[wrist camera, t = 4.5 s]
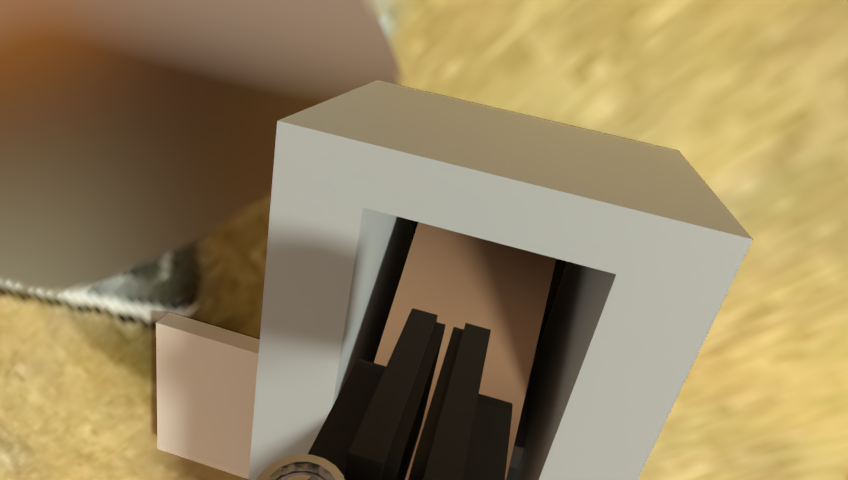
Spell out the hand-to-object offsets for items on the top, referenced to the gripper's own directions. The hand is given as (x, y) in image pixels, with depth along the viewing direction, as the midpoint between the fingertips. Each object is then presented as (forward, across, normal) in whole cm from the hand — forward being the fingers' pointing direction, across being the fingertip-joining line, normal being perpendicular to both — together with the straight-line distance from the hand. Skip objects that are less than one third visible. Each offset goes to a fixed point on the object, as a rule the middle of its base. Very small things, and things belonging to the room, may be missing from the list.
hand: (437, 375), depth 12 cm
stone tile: (+10, +10, +14) cm, 20 cm away
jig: (+11, 0, +8) cm, 13 cm away
